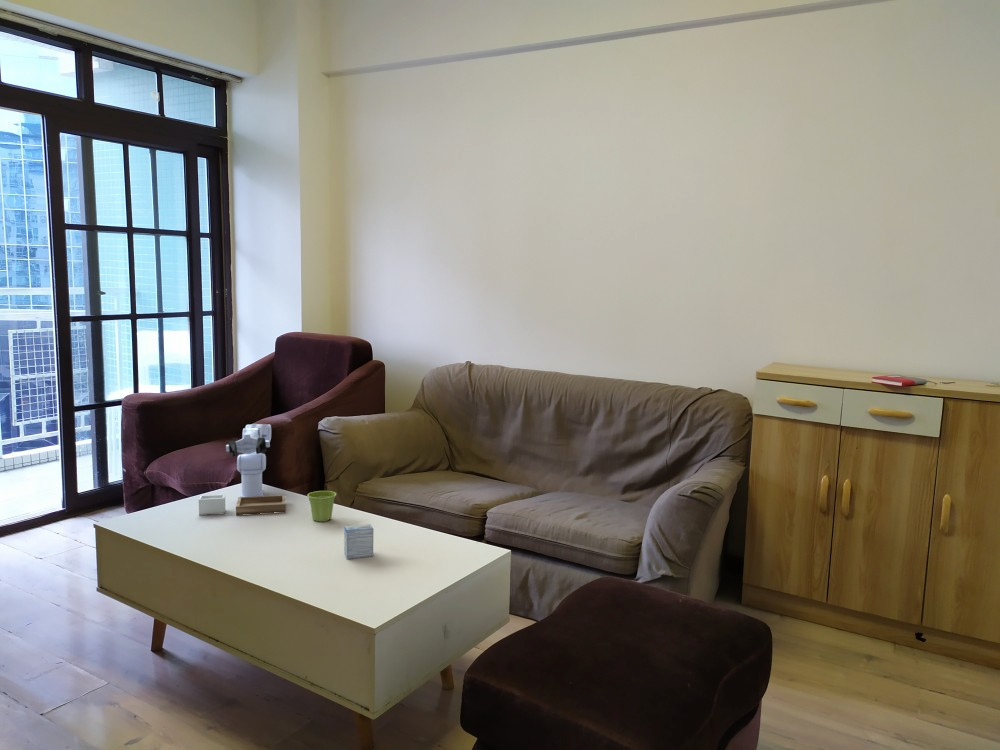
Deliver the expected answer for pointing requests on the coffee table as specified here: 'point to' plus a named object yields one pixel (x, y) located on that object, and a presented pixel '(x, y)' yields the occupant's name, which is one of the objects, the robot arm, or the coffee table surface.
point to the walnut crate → (260, 504)
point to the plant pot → (321, 504)
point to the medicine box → (358, 541)
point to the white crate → (211, 504)
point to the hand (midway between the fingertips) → (245, 452)
